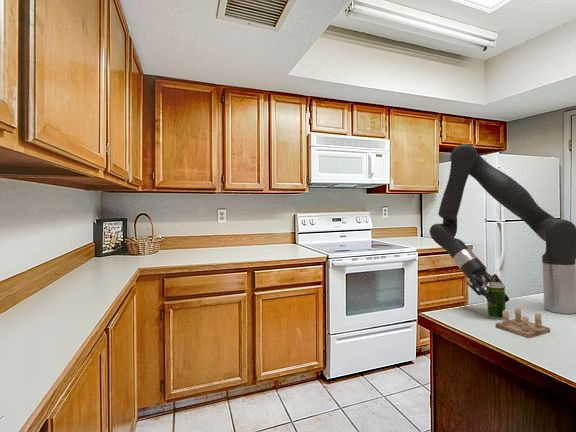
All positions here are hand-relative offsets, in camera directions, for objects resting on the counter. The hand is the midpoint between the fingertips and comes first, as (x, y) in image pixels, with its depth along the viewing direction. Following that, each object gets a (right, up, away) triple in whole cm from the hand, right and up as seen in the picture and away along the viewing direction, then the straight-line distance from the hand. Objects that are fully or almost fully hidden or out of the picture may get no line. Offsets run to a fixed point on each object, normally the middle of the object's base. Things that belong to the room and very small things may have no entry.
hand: (501, 302), depth 110 cm
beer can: (0, -6, +2) cm, 6 cm away
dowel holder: (0, -6, -10) cm, 12 cm away
